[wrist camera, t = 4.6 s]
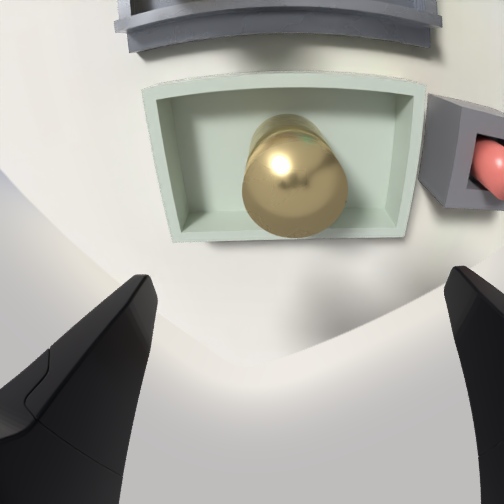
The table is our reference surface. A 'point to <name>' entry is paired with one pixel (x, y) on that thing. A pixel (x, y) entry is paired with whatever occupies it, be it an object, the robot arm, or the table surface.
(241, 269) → the table surface
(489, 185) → the button
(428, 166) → the grey square socket block
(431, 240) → the table surface
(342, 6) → the grey flat frame
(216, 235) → the tray
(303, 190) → the billet
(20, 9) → the table surface
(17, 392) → the robot arm
